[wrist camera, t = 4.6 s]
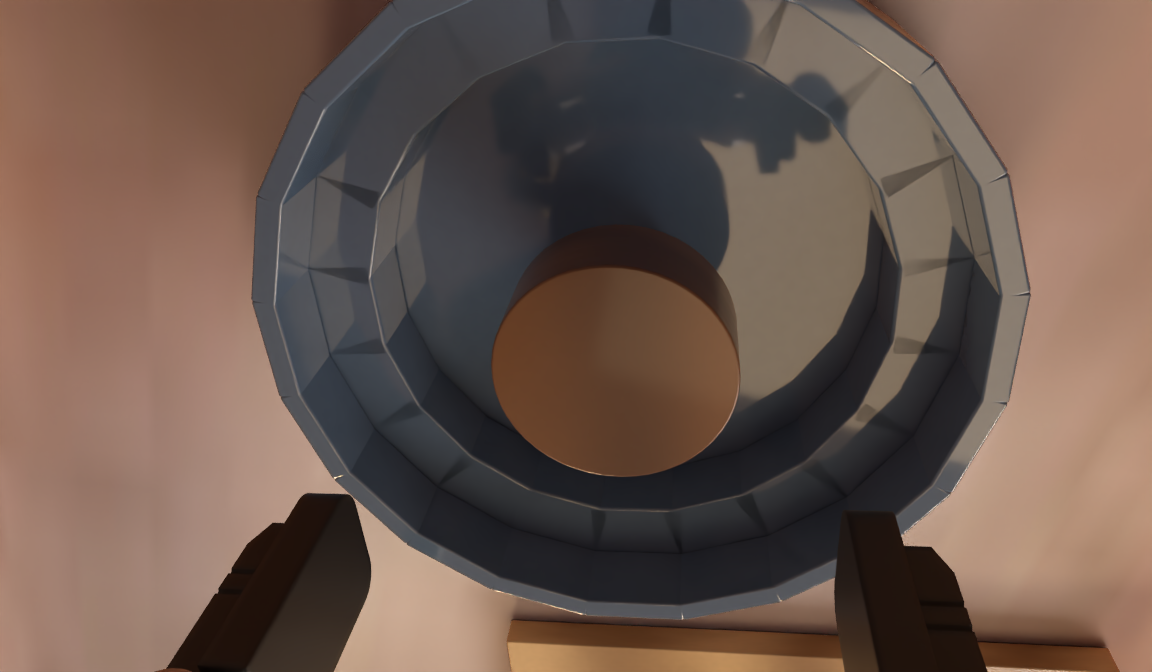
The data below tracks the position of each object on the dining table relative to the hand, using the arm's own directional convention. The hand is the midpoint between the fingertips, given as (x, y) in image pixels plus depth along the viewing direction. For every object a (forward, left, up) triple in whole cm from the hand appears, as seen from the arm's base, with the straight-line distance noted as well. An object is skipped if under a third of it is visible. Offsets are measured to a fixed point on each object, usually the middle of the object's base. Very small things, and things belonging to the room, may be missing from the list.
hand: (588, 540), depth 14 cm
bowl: (0, 0, -11) cm, 11 cm away
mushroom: (0, 0, -10) cm, 10 cm away
